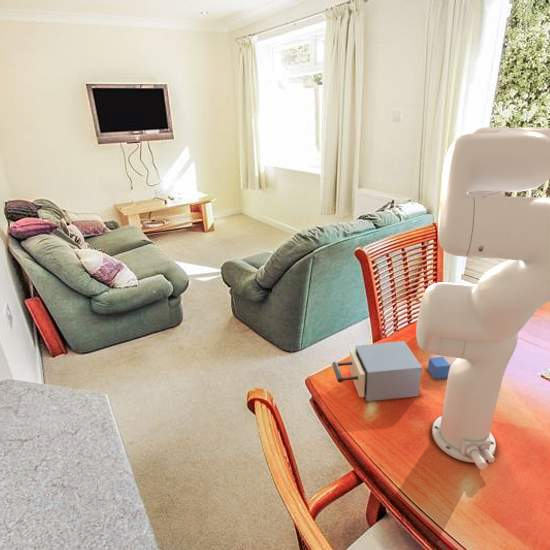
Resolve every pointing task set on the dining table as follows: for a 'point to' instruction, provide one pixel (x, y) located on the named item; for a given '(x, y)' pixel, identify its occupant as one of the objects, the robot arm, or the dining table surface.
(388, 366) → the grey drawer cabinet
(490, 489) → the dining table surface
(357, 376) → the drawer
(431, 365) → the blue wooden cube
